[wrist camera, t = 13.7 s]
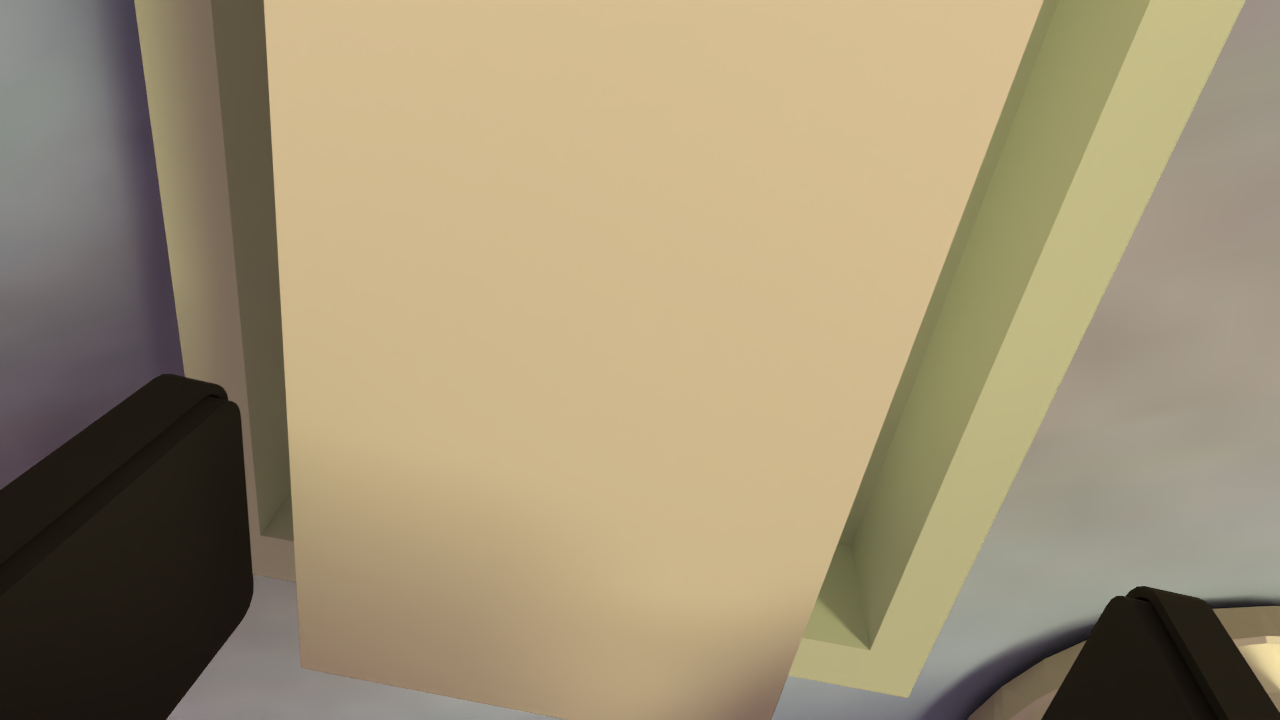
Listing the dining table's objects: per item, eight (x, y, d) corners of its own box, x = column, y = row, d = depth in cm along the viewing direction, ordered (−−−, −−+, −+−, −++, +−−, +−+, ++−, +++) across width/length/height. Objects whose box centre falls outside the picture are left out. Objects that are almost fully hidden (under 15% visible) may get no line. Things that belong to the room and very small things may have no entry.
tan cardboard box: (738, 459, 16) (742, 796, 10) (462, 406, 16) (304, 711, 10) (1045, -632, 9) (1687, -1699, 3) (542, -727, 9) (153, -1982, 3)
